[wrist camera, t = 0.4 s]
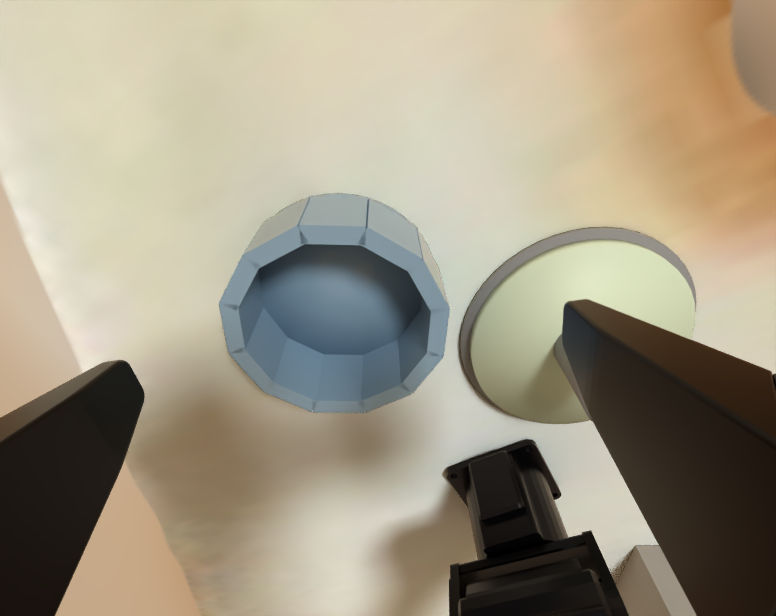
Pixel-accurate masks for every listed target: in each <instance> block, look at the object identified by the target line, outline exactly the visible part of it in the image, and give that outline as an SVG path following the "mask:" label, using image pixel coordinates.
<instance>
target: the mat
mask: <svg viewBox="0 0 776 616" xmlns="http://www.w3.org/2000/svg"><path fill="white" fill-rule="evenodd" d="M588 239H616V240H624V241H628V242H632V243H636V244H639V245H641V246H644V247H646V248H649V249H650V250H652V251H654V252H655V253H657V254H659V255H660V256H662V257H663V258H664V259H666V260H667V261H668V262H669V263H670V264H672V265H673V266H674V267H675V268H676V269H677V270H678V271H679V272H680V273H681V274H682V276H683V277H684V278H685V279H686V281H687V283H688V285H689V287H690V289H691V291H692V295H693V298H694V302H695V312H696V294H695V288H694V284H693V281H692V277H691V276H690V274H689V272H688V270H687V268H686V266H685V265H684V263H683V262H682V261H681V260H680V258H679V257H678V256H677V255H676V254H675V253H674V252H672V251H671V250H670V249H669V248H668V247H667V246H665V245H664V244H662V243H660V242H659V241H657V240H655V239H654V238H652V237H650V236H647V235H644V234H642V233H639V232H636V231H632V230H628V229H623V228H613V227H589V228H583V229H576V230H571V231H567V232H564V233H560V234H556V235H553V236H551V237H548V238H546V239H543V240H541V241H538V242H536V243H534V244H533V245H531V246H529V247H527V248H525V249H523V250H521V251H520V252H519V253H517V254H516V255H514V256H513V257H511V258H510V259H508V260H507V261H506V262H505V263H503V264H502V265H501V266H500V267H499V268H498V269H496V270H495V271H494V272H493V274H492V275H491V276H490V277H489V278H488V279H487V280H486V281H485V282H484V283H483V285H482V286H481V288H480V289H479V290H478V292H477V293H476V294H475V296H474V298H473V300H472V302H471V304H470V305H469V307H468V310H467V312H466V315H465V318H464V321H463V325H462V330H461V338H460V349H461V357H462V361H463V365H464V368H465V371H466V373H467V375H468V378H469V380H470V381H471V383H472V384H473V386H474V387H475V389H476V390H477V391H478V392H479V393H480V394H481V395H482V396H483V397H484V398H485V399H486V400H488V401H489V402H490V403H492V404H493V405H495V406H497V405H496V404H495V403H493V402H492V401H491V400H490V398H489V397H488V396H487V395H486V394H485V393H484V391H483V390H482V388H481V387H480V385H479V383H478V381H477V378H476V376H475V372H474V369H473V365H472V361H471V357H470V336H471V332H472V327H473V323H474V321H475V318H476V316H477V313H478V311H479V310H480V308H481V306H482V304H483V302H484V301H485V299H486V298H487V297H488V295H489V294H490V293H491V291H492V290H493V289H494V288H495V287H496V286H497V284H498V283H499V282H500V281H501V280H502V279H503V278H504V277H506V276H507V275H508V274H509V273H510V272H512V271H513V270H514V269H515V268H517V267H518V266H520V265H521V264H523V263H524V262H526V261H527V260H529V259H531V258H532V257H534V256H536V255H538V254H540V253H542V252H544V251H547V250H549V249H552V248H554V247H557V246H560V245H564V244H567V243H571V242H575V241H582V240H588ZM497 407H498V408H500V407H499V406H497ZM500 409H501V408H500ZM502 410H503V409H502ZM504 411H505V410H504Z"/></svg>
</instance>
